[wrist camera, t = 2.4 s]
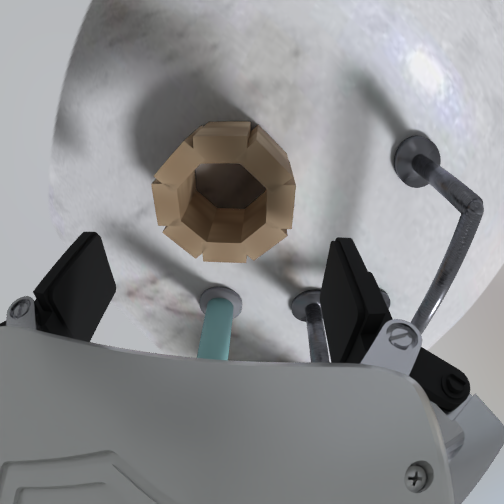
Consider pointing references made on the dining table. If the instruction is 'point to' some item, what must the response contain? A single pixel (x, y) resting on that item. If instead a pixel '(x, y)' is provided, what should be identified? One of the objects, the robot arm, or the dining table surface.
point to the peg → (217, 322)
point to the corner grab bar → (471, 208)
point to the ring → (225, 219)
